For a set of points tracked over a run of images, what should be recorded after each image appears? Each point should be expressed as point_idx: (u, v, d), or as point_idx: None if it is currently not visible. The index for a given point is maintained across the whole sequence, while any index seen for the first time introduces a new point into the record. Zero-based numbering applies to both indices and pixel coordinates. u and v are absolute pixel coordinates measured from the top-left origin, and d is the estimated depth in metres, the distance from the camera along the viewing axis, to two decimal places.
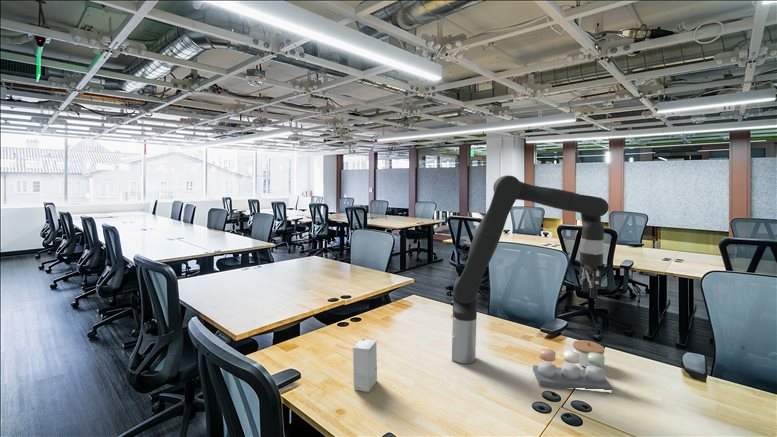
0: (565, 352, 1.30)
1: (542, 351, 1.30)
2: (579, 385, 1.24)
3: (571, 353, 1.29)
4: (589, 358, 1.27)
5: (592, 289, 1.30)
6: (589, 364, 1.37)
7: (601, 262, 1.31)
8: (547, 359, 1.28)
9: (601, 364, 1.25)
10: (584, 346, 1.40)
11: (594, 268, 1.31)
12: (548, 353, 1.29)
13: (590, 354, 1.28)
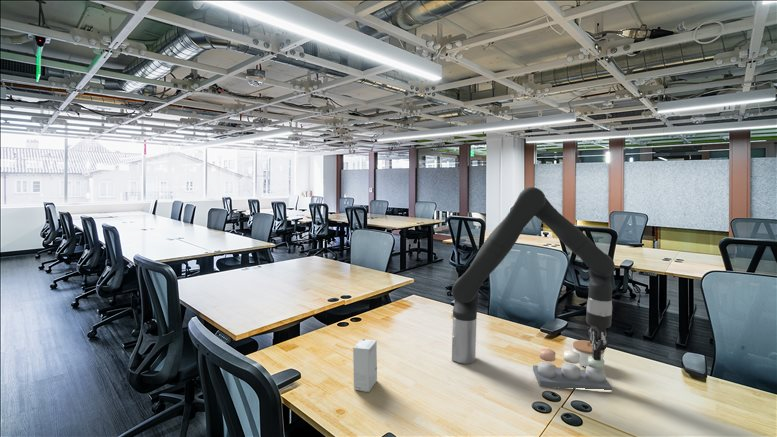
0: (565, 352, 1.30)
1: (542, 351, 1.30)
2: (579, 385, 1.24)
3: (571, 353, 1.29)
4: (589, 362, 1.27)
5: (595, 351, 1.26)
6: None
7: (609, 324, 1.23)
8: (547, 359, 1.28)
9: (601, 368, 1.25)
10: (584, 346, 1.40)
11: (602, 330, 1.23)
12: (548, 353, 1.29)
13: (590, 358, 1.28)
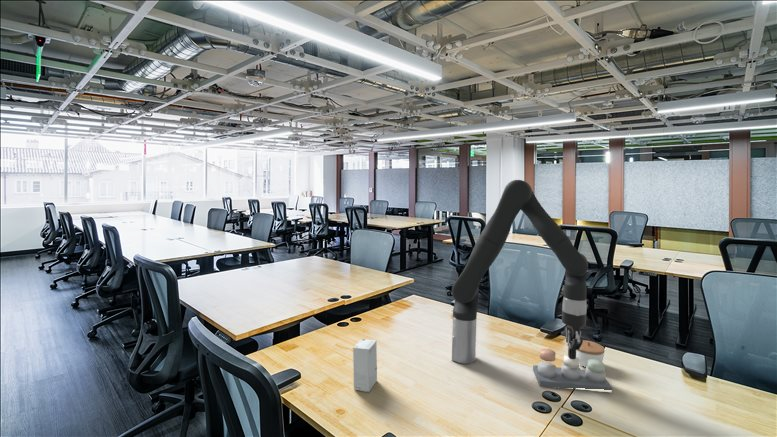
0: (565, 356, 1.30)
1: (542, 351, 1.30)
2: (579, 385, 1.24)
3: None
4: (589, 365, 1.27)
5: (571, 350, 1.28)
6: None
7: (584, 323, 1.24)
8: (547, 359, 1.28)
9: (601, 371, 1.25)
10: (584, 346, 1.40)
11: (576, 329, 1.24)
12: (548, 353, 1.29)
13: (590, 361, 1.28)
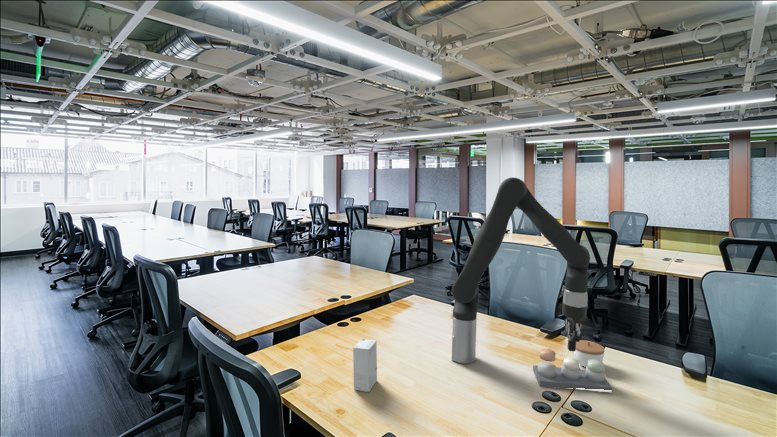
0: (565, 359, 1.30)
1: (542, 351, 1.30)
2: (579, 385, 1.24)
3: (571, 360, 1.29)
4: (589, 365, 1.27)
5: (570, 342, 1.27)
6: None
7: (584, 315, 1.24)
8: (547, 359, 1.28)
9: (601, 371, 1.25)
10: (584, 346, 1.40)
11: (577, 322, 1.24)
12: (548, 353, 1.29)
13: (590, 361, 1.28)
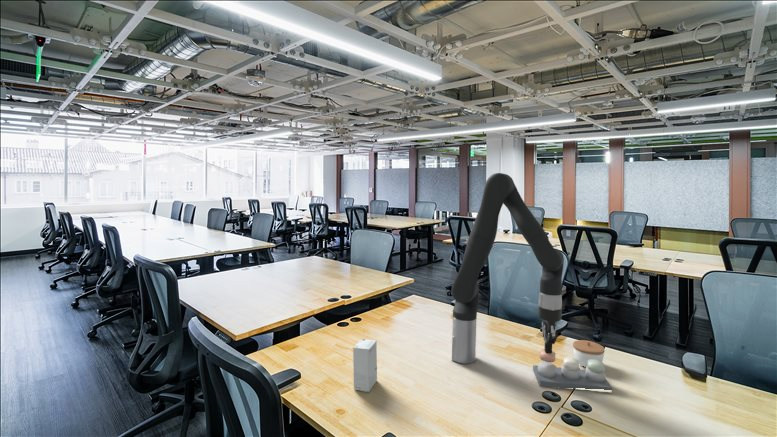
0: (565, 359, 1.30)
1: (542, 352, 1.30)
2: (579, 385, 1.24)
3: (571, 360, 1.29)
4: (589, 365, 1.27)
5: (547, 344, 1.29)
6: None
7: (559, 317, 1.26)
8: (547, 360, 1.28)
9: (601, 371, 1.25)
10: (584, 346, 1.40)
11: (552, 324, 1.25)
12: (548, 354, 1.29)
13: (590, 361, 1.28)
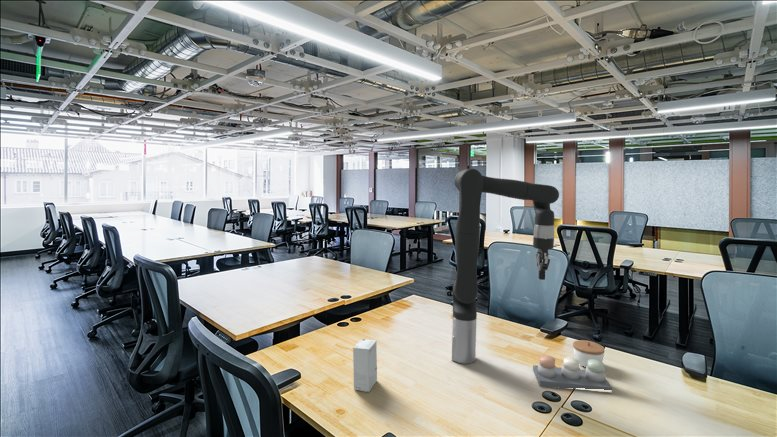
0: (565, 359, 1.30)
1: (542, 358, 1.30)
2: (579, 385, 1.24)
3: (571, 360, 1.29)
4: (589, 365, 1.27)
5: (540, 271, 1.44)
6: None
7: (551, 246, 1.41)
8: (547, 366, 1.28)
9: (601, 371, 1.25)
10: (584, 346, 1.40)
11: (545, 251, 1.41)
12: (548, 360, 1.29)
13: (590, 361, 1.28)
